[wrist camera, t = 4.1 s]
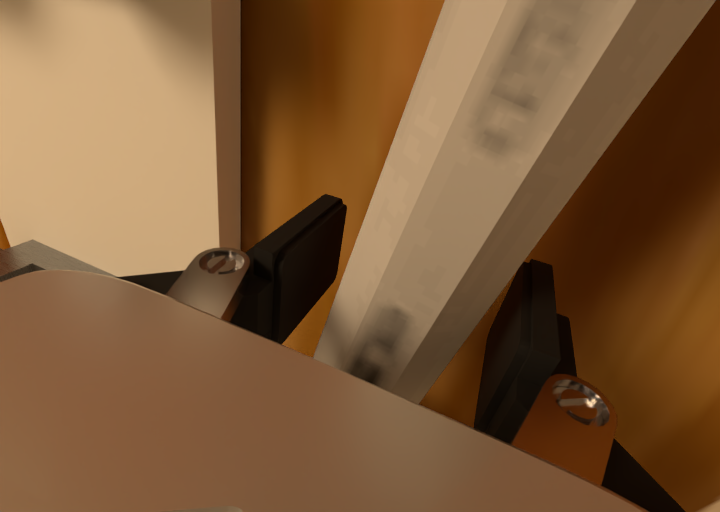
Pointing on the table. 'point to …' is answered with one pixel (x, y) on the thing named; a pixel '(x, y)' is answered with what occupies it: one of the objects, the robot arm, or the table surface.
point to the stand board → (121, 129)
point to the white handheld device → (488, 168)
